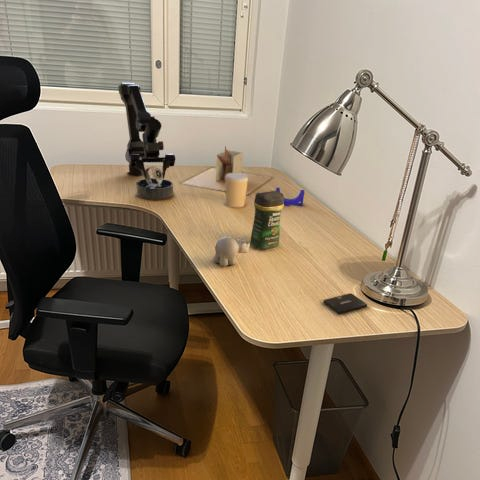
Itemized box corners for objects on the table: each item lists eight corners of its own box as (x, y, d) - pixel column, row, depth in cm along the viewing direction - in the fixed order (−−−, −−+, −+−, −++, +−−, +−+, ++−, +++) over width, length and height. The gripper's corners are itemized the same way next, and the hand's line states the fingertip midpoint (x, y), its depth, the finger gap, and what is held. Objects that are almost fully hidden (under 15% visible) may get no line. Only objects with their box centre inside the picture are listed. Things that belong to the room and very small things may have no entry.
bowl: (151, 187, 206) (151, 176, 203) (180, 194, 200) (179, 182, 198) (129, 195, 194) (128, 183, 192) (158, 203, 189) (158, 191, 186)
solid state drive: (322, 302, 127) (323, 299, 127) (350, 295, 131) (351, 293, 131) (339, 314, 122) (339, 312, 122) (367, 306, 126) (368, 304, 126)
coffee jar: (260, 252, 153) (265, 197, 143) (246, 243, 159) (250, 190, 149) (282, 247, 158) (289, 193, 148) (269, 239, 163) (274, 186, 154)
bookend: (215, 181, 220) (216, 145, 212) (224, 176, 229) (226, 141, 220) (232, 184, 218) (234, 147, 209) (241, 179, 227) (243, 143, 218)
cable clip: (274, 204, 197) (275, 190, 193) (274, 201, 200) (276, 187, 197) (302, 207, 196) (304, 193, 193) (302, 203, 200) (304, 190, 197)
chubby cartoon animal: (254, 263, 146) (256, 238, 141) (221, 269, 140) (222, 243, 136) (242, 254, 151) (244, 229, 146) (210, 260, 145) (211, 235, 141)
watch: (157, 196, 193) (156, 170, 187) (142, 193, 197) (141, 166, 191) (165, 193, 198) (165, 167, 192) (151, 189, 201) (149, 164, 195)
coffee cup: (249, 203, 196) (252, 175, 189) (240, 209, 188) (242, 180, 182) (230, 199, 199) (231, 171, 192) (220, 205, 191) (221, 176, 185)
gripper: (128, 133, 185) (132, 168, 182) (174, 133, 190) (179, 168, 187) (127, 149, 196) (131, 182, 193) (171, 149, 201) (176, 181, 198)
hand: (154, 178), depth 192 cm, fingers closed on watch, 7 cm apart
